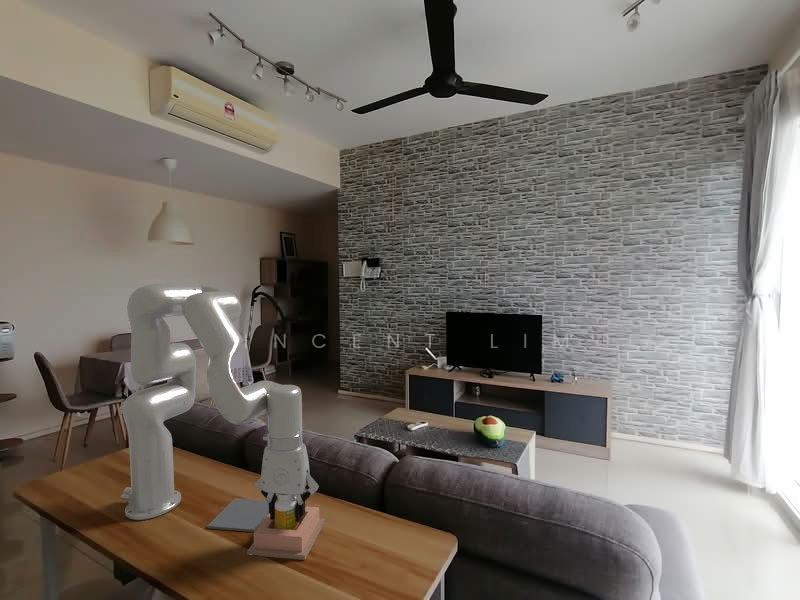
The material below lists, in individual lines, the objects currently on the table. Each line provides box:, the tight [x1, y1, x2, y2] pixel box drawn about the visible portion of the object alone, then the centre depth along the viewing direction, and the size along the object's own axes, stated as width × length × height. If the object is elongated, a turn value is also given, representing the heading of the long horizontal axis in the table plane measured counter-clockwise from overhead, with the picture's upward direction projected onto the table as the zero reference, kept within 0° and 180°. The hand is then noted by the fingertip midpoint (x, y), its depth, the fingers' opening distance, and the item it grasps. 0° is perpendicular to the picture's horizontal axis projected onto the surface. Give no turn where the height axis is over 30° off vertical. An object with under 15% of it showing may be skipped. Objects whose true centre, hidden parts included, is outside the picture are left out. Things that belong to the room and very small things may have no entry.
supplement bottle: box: [275, 494, 299, 530], centre depth 90 cm, size 5×5×10 cm
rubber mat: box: [206, 498, 269, 533], centre depth 99 cm, size 12×12×1 cm
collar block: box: [247, 506, 326, 561], centre depth 90 cm, size 13×13×4 cm
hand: (287, 516), depth 90 cm, fingers closed on supplement bottle, 5 cm apart
